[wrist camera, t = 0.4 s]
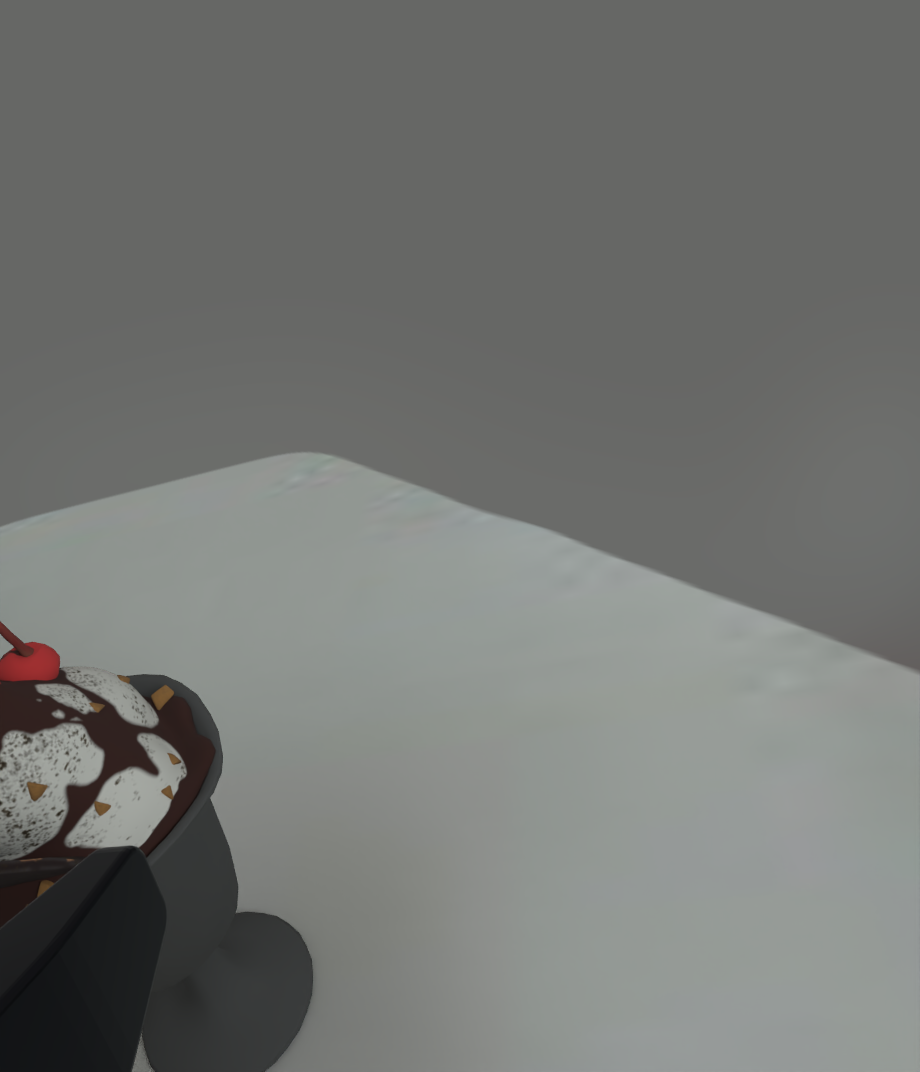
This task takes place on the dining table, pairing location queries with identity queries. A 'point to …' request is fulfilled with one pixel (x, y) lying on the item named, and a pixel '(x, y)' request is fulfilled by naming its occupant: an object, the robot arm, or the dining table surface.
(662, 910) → the dining table surface
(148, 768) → the sundae
